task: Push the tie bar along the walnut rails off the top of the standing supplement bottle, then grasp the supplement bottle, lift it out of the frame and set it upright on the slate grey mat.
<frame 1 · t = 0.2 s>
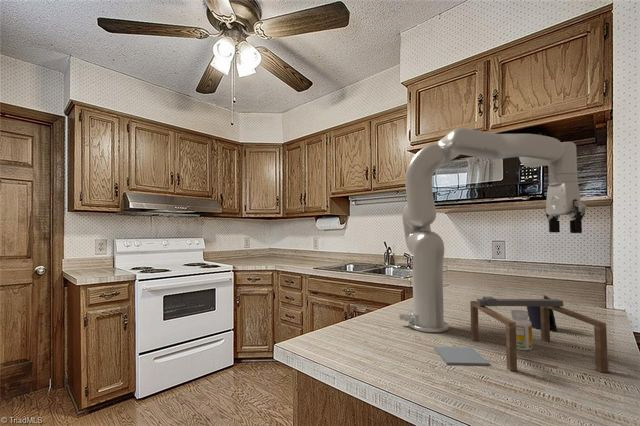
hand: (564, 232, 105), 31 cm above the countertop, tool pointing down, fingers open, 9 cm apart
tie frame: (530, 353, 83), on the countertop
speaker: (540, 328, 104), on the countertop
supplement bottle: (520, 347, 88), on the countertop
tie bar: (519, 301, 88), point 12 cm above the countertop, slide at 0.0 cm
slate mat: (460, 356, 82), on the countertop
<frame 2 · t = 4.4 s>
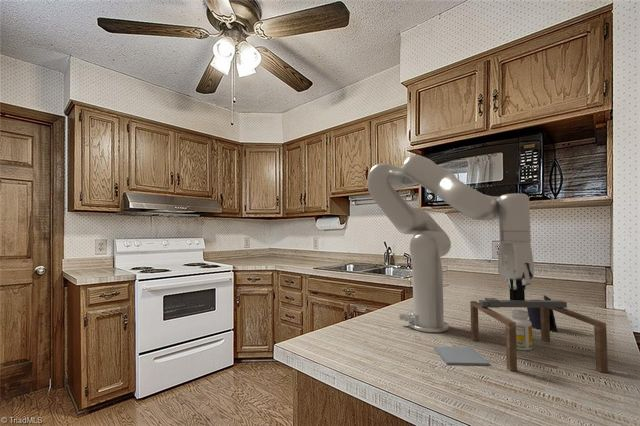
hand: (517, 303, 89), 12 cm above the countertop, tool pointing down, fingers closed
tie bar: (522, 302, 87), point 12 cm above the countertop, slide at 1.4 cm, touching gripper
everything else where it was.
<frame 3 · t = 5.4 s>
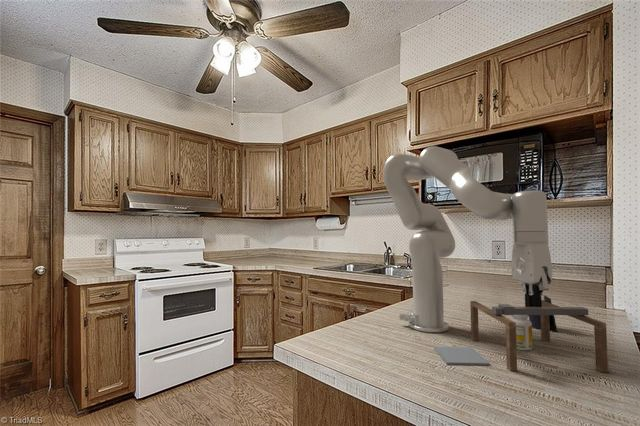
hand: (533, 309, 82), 12 cm above the countertop, tool pointing down, fingers closed
tie bar: (539, 309, 80), point 12 cm above the countertop, slide at 8.6 cm, touching gripper
everything else where it was.
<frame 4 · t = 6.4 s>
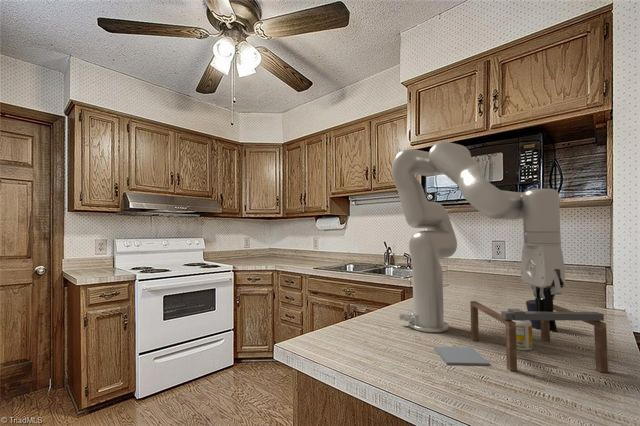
hand: (544, 314, 78), 12 cm above the countertop, tool pointing down, fingers closed
tie bar: (551, 314, 75), point 12 cm above the countertop, slide at 13.1 cm, touching gripper
everything else where it was.
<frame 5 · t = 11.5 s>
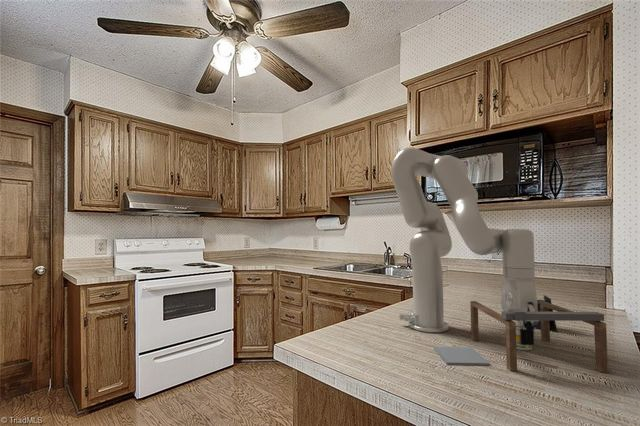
hand: (520, 339, 88), 2 cm above the countertop, tool pointing down, fingers closed on supplement bottle, 5 cm apart
supplement bottle: (520, 347, 88), on the countertop, touching gripper
tie bar: (551, 314, 75), point 12 cm above the countertop, slide at 13.2 cm
everything else where it was.
when the fingers open (4 cm above the countertop, at t = 18.9 s): supplement bottle drops 1 cm, resting on slate mat.
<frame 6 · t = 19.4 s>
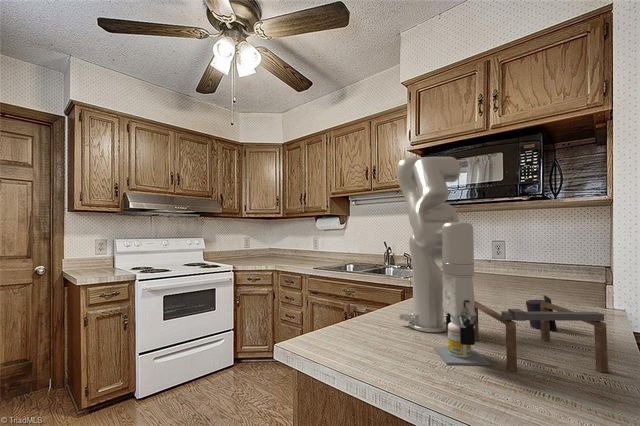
hand: (459, 337, 82), 5 cm above the countertop, tool pointing down, fingers open, 9 cm apart
supplement bottle: (459, 354, 82), resting on slate mat
everything else where it was.
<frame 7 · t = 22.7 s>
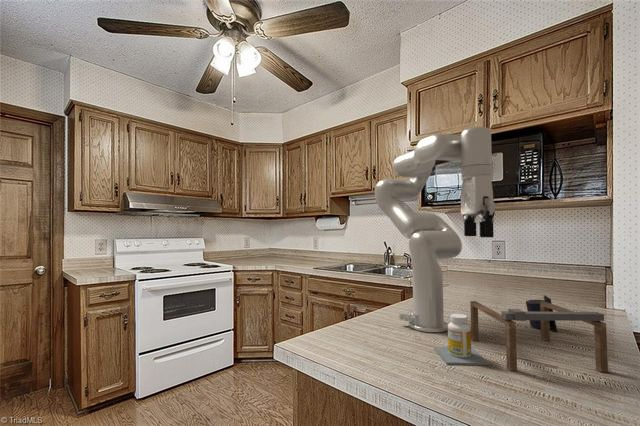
hand: (478, 236, 87), 30 cm above the countertop, tool pointing down, fingers open, 9 cm apart
nothing on the countertop moved.
at the end: tie bar slide at 13.2 cm; supplement bottle inside the target area (0.2 cm from its centre), resting on slate mat; supplement bottle tilted 0° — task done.
